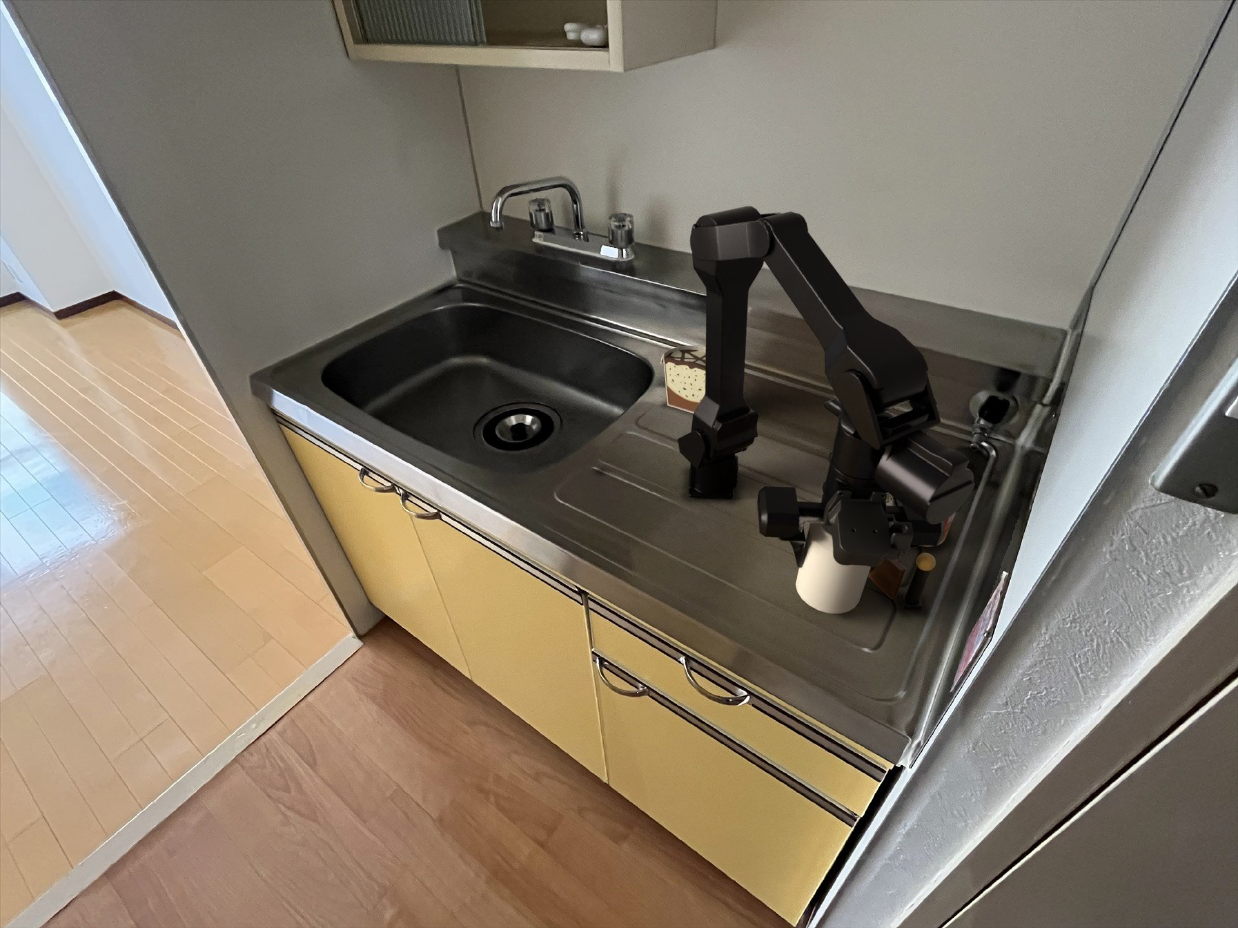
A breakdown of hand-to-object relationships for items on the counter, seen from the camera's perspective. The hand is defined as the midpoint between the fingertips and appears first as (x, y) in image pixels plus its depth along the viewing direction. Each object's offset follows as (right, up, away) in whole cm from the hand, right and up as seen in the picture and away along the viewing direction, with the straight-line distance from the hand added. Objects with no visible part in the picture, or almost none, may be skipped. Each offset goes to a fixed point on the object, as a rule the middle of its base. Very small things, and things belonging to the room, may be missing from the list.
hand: (833, 567), depth 75 cm
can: (0, -4, +3) cm, 5 cm away
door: (+6, -1, +7) cm, 9 cm away
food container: (-11, +22, +38) cm, 46 cm away
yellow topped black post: (+10, -5, +2) cm, 11 cm away
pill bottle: (+16, +3, +12) cm, 20 cm away
